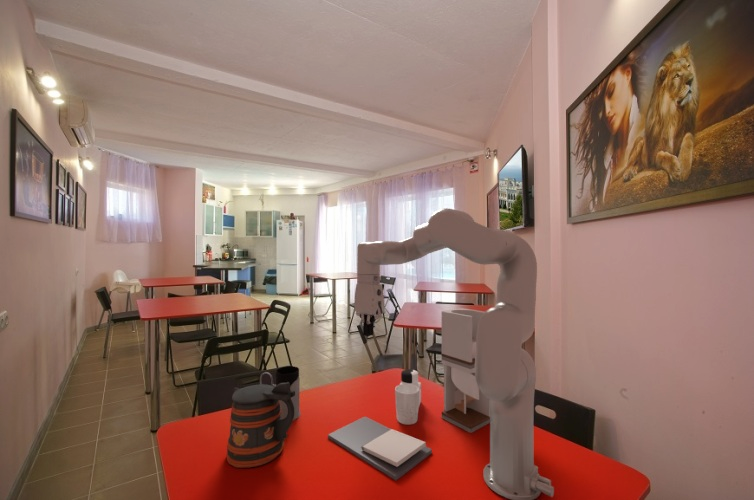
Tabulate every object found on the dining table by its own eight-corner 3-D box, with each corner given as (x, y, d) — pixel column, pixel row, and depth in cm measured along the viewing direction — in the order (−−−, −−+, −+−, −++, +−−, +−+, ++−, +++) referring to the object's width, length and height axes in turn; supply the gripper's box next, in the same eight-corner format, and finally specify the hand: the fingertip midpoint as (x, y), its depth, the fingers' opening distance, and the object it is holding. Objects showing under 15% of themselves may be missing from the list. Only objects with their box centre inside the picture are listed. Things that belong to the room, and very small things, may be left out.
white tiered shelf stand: (441, 418, 107) (441, 311, 108) (462, 408, 114) (461, 308, 114) (470, 433, 98) (470, 316, 99) (491, 422, 105) (490, 312, 105)
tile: (390, 428, 96) (390, 432, 96) (361, 445, 88) (361, 449, 88) (425, 442, 88) (425, 446, 88) (396, 462, 79) (397, 467, 79)
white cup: (419, 414, 110) (419, 384, 110) (419, 426, 102) (419, 394, 102) (395, 413, 110) (395, 383, 111) (394, 425, 103) (394, 393, 103)
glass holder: (294, 422, 104) (294, 375, 104) (253, 419, 106) (253, 372, 106) (304, 409, 113) (304, 366, 113) (266, 406, 115) (266, 364, 115)
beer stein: (307, 442, 93) (307, 372, 93) (281, 476, 79) (282, 393, 79) (248, 434, 97) (249, 366, 98) (213, 464, 83) (214, 386, 83)
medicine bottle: (397, 407, 114) (397, 373, 115) (402, 399, 121) (402, 366, 121) (417, 410, 112) (417, 375, 112) (421, 401, 119) (421, 368, 119)
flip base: (431, 453, 88) (431, 449, 88) (395, 480, 77) (396, 476, 77) (364, 419, 106) (364, 416, 106) (328, 438, 95) (328, 434, 95)
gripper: (393, 280, 105) (392, 337, 105) (361, 277, 116) (360, 329, 115) (377, 281, 100) (376, 341, 100) (345, 278, 110) (344, 333, 110)
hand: (368, 335), depth 108 cm, fingers closed
